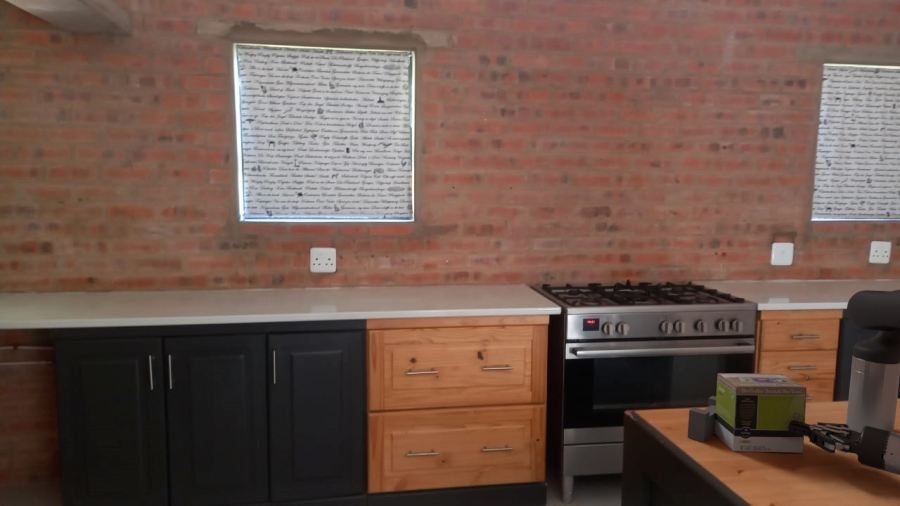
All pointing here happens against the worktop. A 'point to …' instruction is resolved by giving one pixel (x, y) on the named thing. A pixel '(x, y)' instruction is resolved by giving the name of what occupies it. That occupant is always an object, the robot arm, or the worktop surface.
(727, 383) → the tea box
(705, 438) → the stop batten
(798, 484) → the worktop surface
